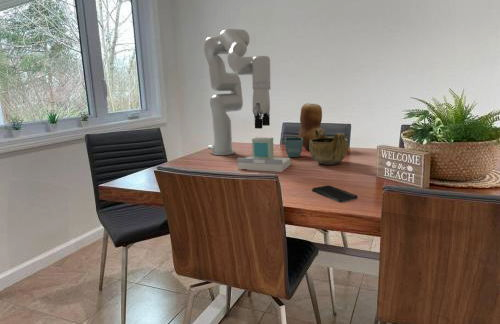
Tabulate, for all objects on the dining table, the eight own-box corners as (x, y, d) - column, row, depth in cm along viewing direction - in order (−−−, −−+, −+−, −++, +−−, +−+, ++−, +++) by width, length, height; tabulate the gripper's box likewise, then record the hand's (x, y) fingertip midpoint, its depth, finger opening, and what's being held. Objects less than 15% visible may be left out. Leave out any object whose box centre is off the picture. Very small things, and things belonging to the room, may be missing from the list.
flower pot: (302, 154, 185) (302, 137, 183) (303, 158, 176) (303, 140, 174) (285, 154, 186) (284, 137, 184) (285, 158, 177) (284, 140, 175)
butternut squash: (327, 150, 194) (327, 103, 188) (304, 152, 191) (304, 104, 185) (315, 146, 207) (316, 102, 202) (294, 148, 204) (293, 103, 198)
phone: (328, 185, 127) (359, 196, 114) (328, 188, 128) (358, 199, 115) (310, 188, 124) (339, 200, 111) (310, 191, 124) (339, 203, 111)
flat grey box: (237, 169, 158) (237, 158, 157) (249, 162, 171) (249, 152, 170) (281, 172, 151) (281, 160, 150) (290, 164, 164) (290, 153, 163)
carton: (256, 159, 163) (256, 137, 161) (273, 160, 160) (273, 137, 158) (252, 161, 158) (251, 139, 156) (270, 162, 155) (269, 139, 153)
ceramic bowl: (358, 167, 155) (359, 132, 152) (322, 170, 151) (322, 135, 148) (333, 157, 176) (333, 126, 173) (301, 160, 172) (301, 129, 169)
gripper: (260, 86, 161) (260, 124, 165) (245, 87, 145) (247, 129, 149) (276, 85, 158) (276, 124, 162) (263, 86, 143) (264, 129, 146)
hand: (262, 126), depth 156 cm, fingers open, 9 cm apart
